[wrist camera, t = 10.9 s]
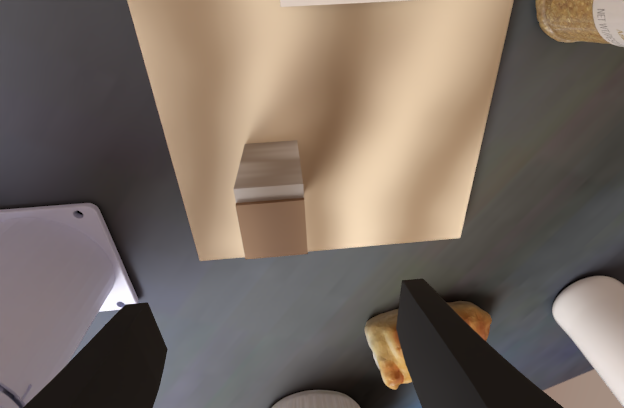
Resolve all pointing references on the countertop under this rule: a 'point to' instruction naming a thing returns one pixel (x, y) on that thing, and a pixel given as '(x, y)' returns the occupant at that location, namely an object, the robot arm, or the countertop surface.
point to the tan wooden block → (271, 200)
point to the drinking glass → (596, 325)
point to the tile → (326, 2)
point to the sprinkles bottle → (582, 20)
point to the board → (326, 109)
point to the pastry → (388, 345)
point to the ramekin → (317, 400)
